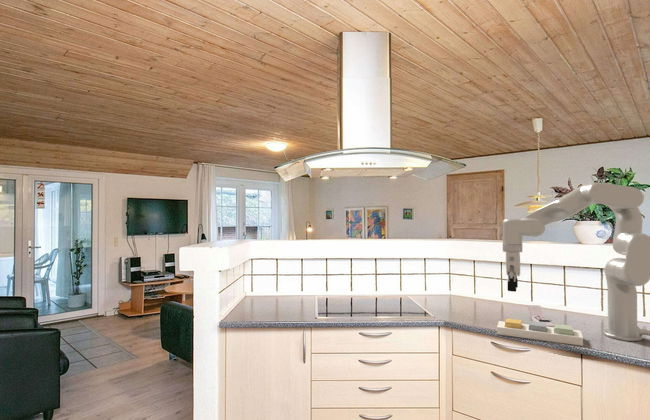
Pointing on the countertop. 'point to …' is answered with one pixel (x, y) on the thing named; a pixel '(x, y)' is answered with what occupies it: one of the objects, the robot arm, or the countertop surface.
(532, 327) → the key slate
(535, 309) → the mobile phone
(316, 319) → the countertop surface
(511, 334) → the keypad
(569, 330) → the key sage
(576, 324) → the countertop surface
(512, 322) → the key ochre
